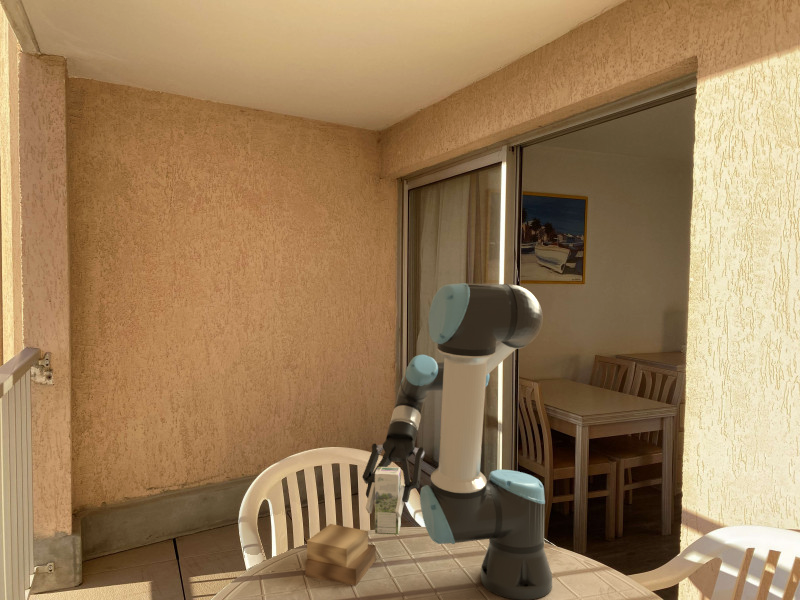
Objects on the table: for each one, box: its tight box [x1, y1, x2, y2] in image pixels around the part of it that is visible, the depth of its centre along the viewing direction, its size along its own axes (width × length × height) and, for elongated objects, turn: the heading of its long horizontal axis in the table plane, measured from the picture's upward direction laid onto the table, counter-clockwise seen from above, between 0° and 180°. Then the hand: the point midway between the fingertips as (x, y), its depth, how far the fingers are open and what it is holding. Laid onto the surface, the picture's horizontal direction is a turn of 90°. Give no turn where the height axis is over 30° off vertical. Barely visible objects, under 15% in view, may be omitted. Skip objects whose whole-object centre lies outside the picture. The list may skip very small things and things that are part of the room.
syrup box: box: [374, 466, 402, 535], centre depth 135 cm, size 6×6×14 cm
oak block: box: [306, 523, 369, 567], centre depth 128 cm, size 10×10×4 cm
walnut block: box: [304, 543, 377, 586], centre depth 128 cm, size 12×12×4 cm
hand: (383, 512), depth 132 cm, fingers closed on syrup box, 7 cm apart
